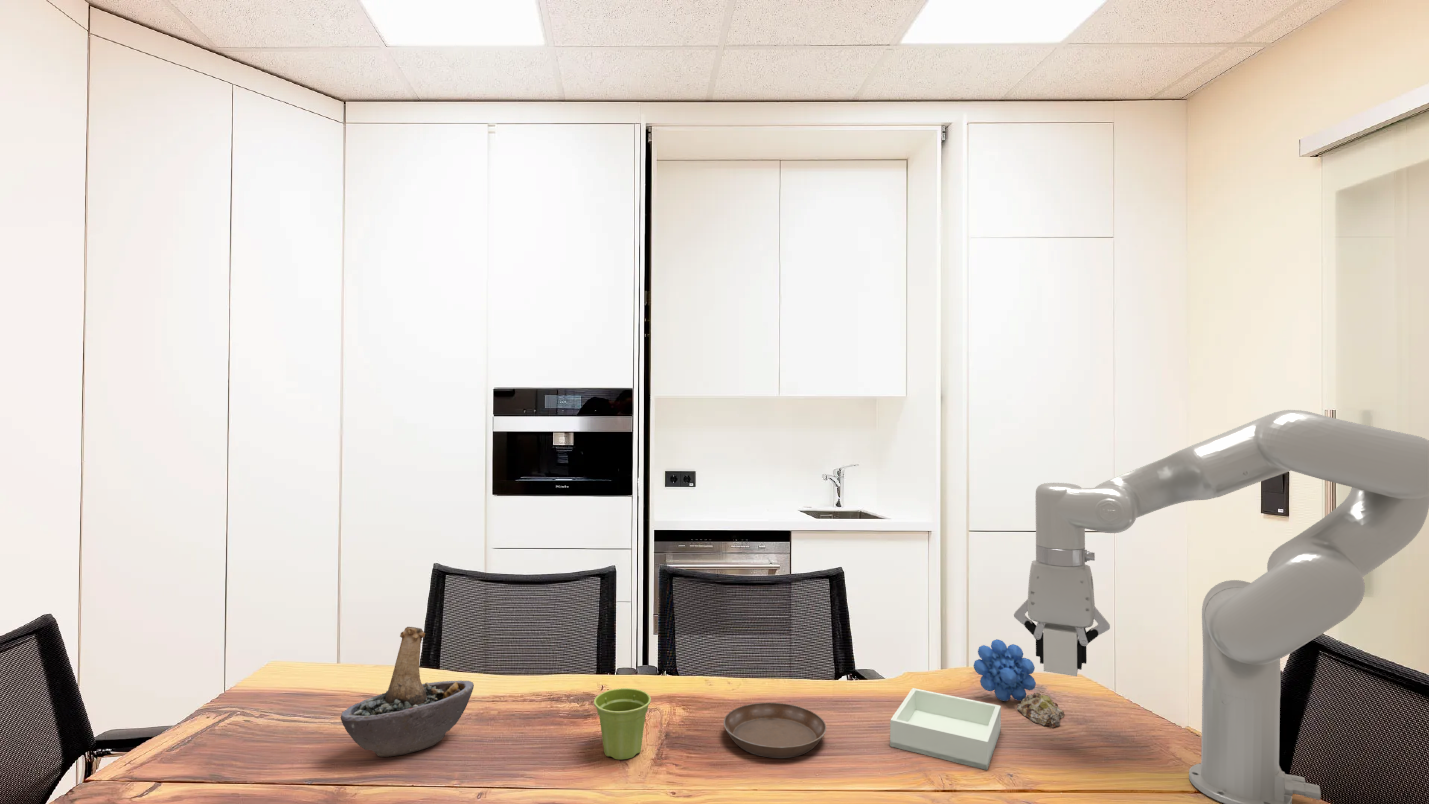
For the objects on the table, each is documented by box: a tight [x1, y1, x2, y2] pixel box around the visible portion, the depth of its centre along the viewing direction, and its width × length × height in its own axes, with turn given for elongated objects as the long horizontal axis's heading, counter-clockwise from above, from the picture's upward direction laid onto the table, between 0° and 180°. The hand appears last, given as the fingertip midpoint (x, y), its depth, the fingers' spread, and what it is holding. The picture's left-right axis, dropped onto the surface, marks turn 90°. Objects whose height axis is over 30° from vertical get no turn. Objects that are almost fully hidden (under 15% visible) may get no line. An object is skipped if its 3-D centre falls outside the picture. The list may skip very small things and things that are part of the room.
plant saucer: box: [723, 702, 827, 759], centre depth 124 cm, size 18×18×3 cm
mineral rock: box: [1016, 692, 1066, 729], centre depth 135 cm, size 11×4×8 cm
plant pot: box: [593, 687, 652, 760], centre depth 119 cm, size 9×9×9 cm
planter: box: [340, 626, 475, 758], centre depth 119 cm, size 15×17×20 cm
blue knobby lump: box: [973, 639, 1037, 702], centre depth 140 cm, size 12×7×12 cm, turn 82°
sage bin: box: [889, 687, 1002, 771], centre depth 125 cm, size 16×16×4 cm
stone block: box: [1043, 624, 1079, 677], centre depth 122 cm, size 5×5×7 cm
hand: (1060, 662), depth 122 cm, fingers closed on stone block, 5 cm apart
